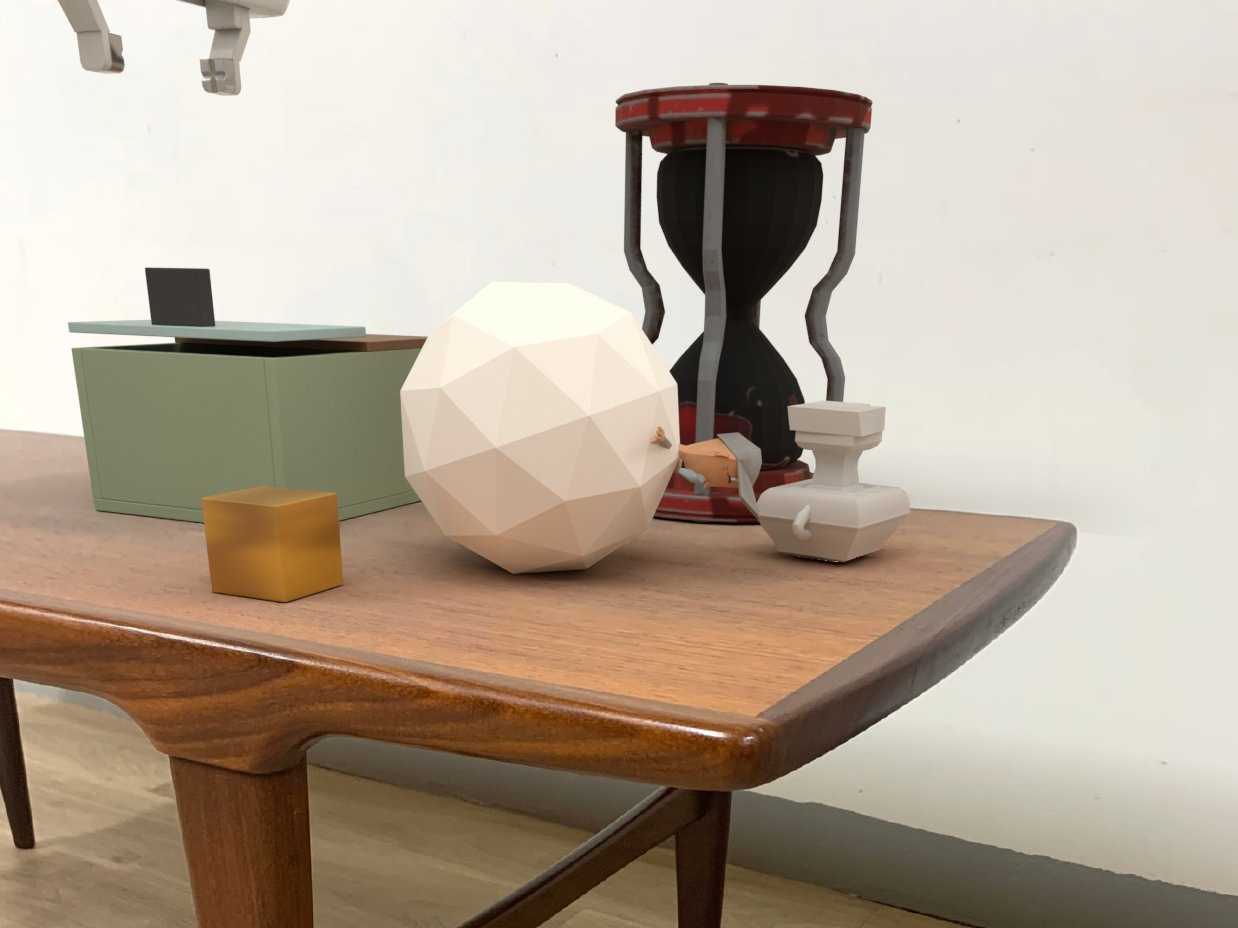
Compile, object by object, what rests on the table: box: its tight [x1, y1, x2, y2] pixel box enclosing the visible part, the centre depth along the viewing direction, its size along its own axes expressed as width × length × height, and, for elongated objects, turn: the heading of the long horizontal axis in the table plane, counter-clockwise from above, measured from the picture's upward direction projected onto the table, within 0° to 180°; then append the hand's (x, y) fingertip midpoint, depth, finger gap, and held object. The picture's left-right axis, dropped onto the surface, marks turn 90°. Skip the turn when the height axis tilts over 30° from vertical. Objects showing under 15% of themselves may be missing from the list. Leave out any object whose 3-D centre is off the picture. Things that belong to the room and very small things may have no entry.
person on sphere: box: [400, 281, 762, 575], centre depth 68 cm, size 14×15×20 cm
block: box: [202, 486, 344, 603], centre depth 64 cm, size 5×5×5 cm
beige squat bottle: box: [757, 400, 911, 563], centre depth 73 cm, size 9×7×8 cm
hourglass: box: [614, 82, 874, 524], centre depth 86 cm, size 16×16×25 cm
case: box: [71, 333, 428, 524], centre depth 87 cm, size 16×18×11 cm
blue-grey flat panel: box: [67, 267, 367, 342], centre depth 80 cm, size 16×9×4 cm, turn 65°
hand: (166, 83), depth 74 cm, fingers open, 8 cm apart
